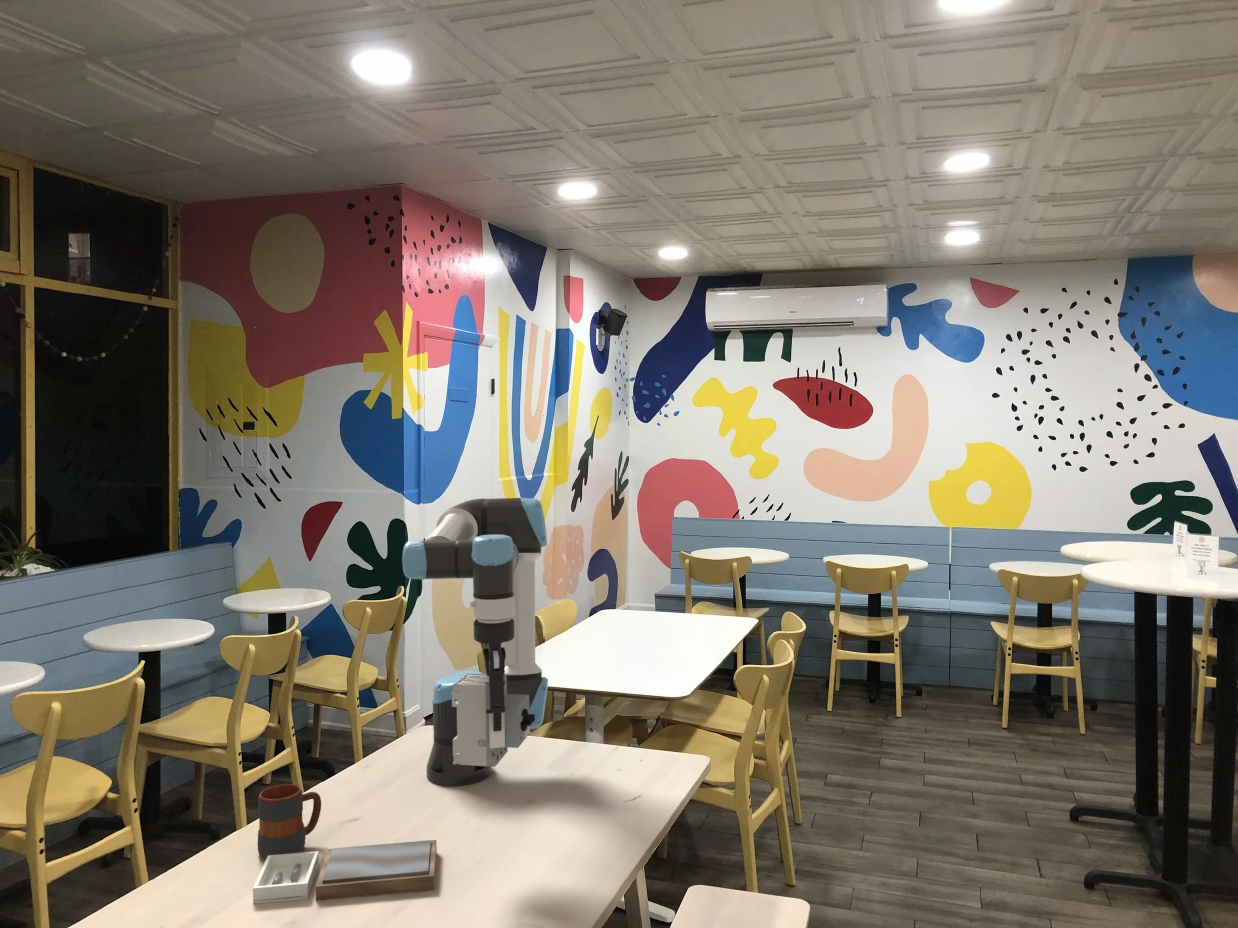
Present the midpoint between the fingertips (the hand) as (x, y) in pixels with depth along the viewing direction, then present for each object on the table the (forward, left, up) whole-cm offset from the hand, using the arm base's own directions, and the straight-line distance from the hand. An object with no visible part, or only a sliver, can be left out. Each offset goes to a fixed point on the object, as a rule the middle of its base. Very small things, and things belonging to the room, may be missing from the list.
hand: (495, 737), depth 168 cm
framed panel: (+2, -22, -23) cm, 32 cm away
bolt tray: (+2, -38, -23) cm, 44 cm away
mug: (-12, -40, -24) cm, 48 cm away
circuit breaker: (0, 0, -4) cm, 4 cm away
